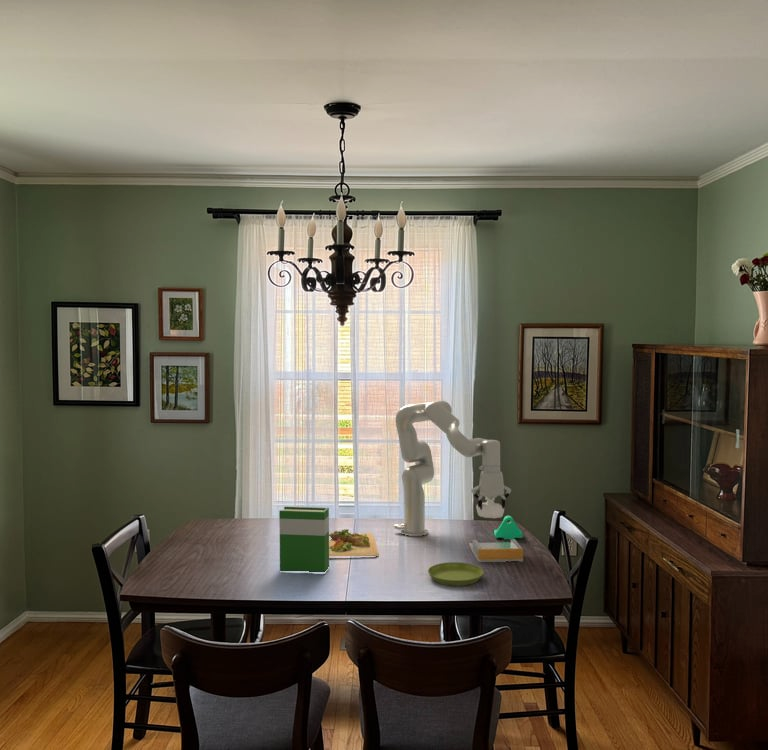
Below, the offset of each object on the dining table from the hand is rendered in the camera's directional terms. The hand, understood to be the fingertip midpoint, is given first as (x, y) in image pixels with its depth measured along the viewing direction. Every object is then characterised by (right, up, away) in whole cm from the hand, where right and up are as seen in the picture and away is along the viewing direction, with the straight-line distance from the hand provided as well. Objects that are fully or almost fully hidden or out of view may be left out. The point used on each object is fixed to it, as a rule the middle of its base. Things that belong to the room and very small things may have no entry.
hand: (491, 508), depth 297 cm
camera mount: (+10, -17, +17) cm, 26 cm away
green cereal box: (-77, -19, -29) cm, 84 cm away
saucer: (-19, -19, -39) cm, 48 cm away
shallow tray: (0, -17, -7) cm, 19 cm away
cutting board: (-61, -18, +3) cm, 64 cm away
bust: (-1, -4, +1) cm, 4 cm away
